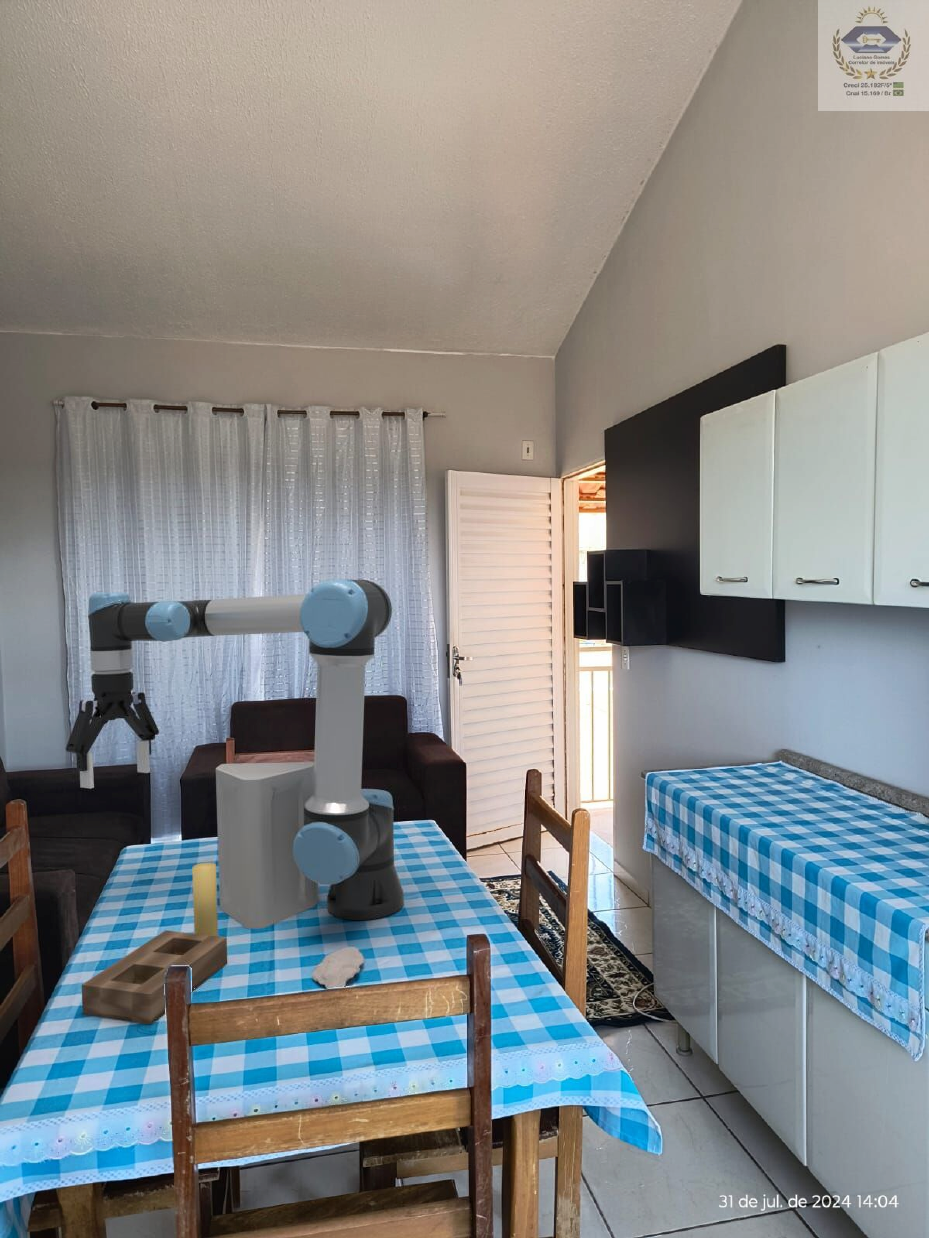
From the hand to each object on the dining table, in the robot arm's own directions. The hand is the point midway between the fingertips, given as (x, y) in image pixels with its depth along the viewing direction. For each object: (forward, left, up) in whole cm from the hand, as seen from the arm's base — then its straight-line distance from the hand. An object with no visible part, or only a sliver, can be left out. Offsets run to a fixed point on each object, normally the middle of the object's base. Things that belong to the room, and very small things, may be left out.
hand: (116, 779), depth 160 cm
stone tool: (-53, +14, -27) cm, 61 cm away
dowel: (-25, +9, -26) cm, 37 cm away
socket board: (-27, +25, -26) cm, 45 cm away
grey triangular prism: (-28, -6, -27) cm, 39 cm away
